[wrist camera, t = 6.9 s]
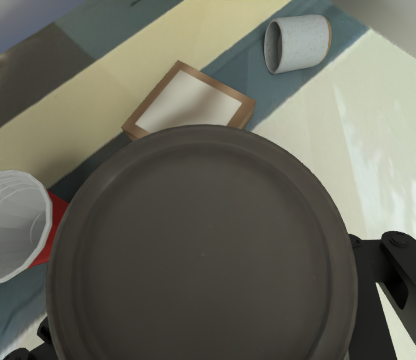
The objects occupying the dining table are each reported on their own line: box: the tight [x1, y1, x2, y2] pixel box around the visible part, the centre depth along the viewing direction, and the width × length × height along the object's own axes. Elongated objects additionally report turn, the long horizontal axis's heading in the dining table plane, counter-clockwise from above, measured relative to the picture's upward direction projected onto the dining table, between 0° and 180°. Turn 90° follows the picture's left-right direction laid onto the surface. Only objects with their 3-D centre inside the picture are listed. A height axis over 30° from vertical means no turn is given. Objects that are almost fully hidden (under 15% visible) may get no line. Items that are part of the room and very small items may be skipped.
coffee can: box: [46, 124, 358, 360], centre depth 14 cm, size 10×10×14 cm
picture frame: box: [121, 60, 256, 141], centre depth 35 cm, size 14×14×4 cm
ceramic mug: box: [264, 15, 331, 74], centre depth 37 cm, size 11×8×8 cm
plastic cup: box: [0, 169, 69, 283], centre depth 27 cm, size 11×11×12 cm
